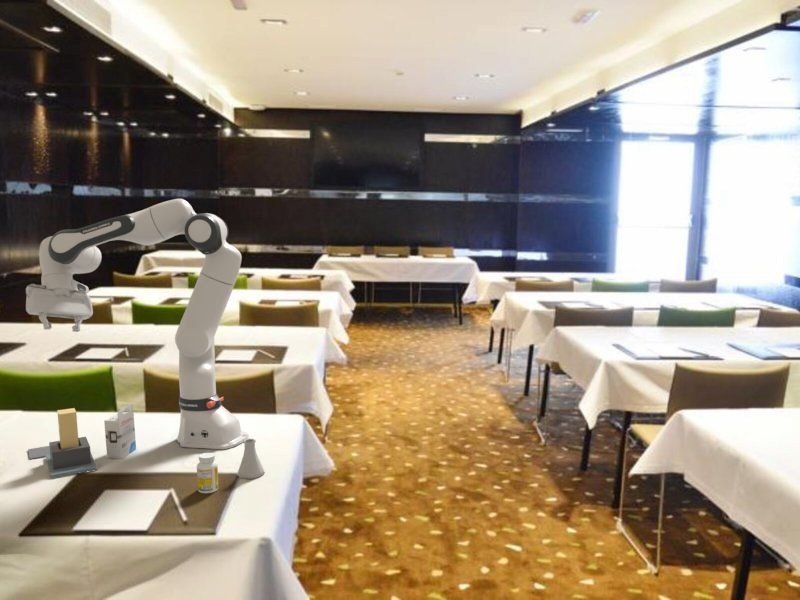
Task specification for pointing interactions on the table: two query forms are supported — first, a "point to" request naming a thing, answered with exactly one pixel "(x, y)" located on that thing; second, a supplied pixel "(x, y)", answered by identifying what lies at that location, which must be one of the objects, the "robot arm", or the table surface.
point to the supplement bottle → (207, 473)
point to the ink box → (120, 433)
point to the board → (70, 468)
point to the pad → (39, 452)
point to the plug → (68, 428)
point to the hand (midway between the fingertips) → (62, 330)
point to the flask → (250, 462)
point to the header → (70, 454)
